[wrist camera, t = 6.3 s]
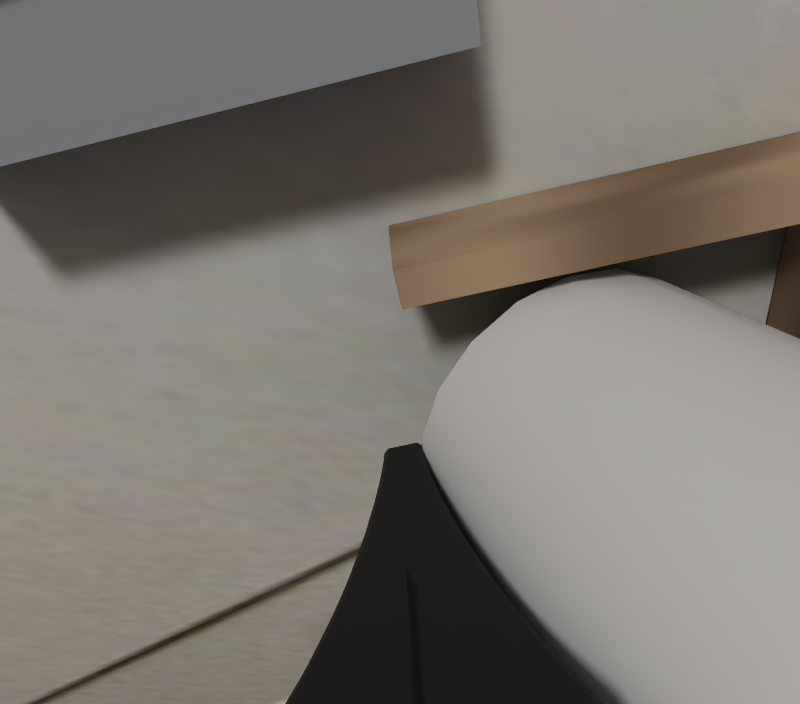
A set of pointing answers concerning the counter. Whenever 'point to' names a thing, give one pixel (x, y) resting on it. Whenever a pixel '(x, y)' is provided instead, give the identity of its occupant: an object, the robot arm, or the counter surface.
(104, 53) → the panel
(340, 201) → the counter surface
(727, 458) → the can
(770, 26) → the counter surface
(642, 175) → the lockout bracket
